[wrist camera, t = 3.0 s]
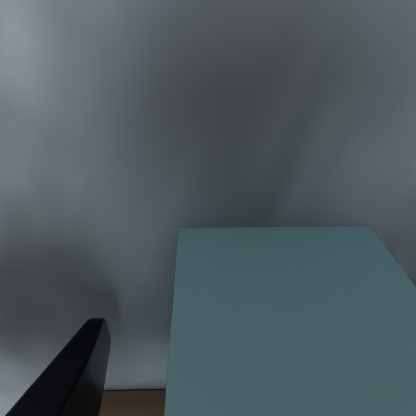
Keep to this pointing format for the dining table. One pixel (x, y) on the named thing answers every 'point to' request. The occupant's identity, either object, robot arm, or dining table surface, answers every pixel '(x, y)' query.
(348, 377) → the block
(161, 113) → the dining table surface
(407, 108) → the dining table surface
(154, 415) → the walnut base
